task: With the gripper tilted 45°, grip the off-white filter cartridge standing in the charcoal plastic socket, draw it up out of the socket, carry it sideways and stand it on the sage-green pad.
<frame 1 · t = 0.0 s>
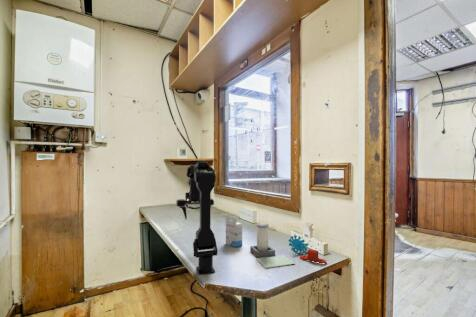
hand: (194, 219, 122), 15 cm above the table, tool pointing down, fingers open, 9 cm apart
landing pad: (275, 261, 104), on the table
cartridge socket: (262, 253, 114), on the table
filter cartridge: (262, 238, 114), in the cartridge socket
gear: (298, 252, 116), on the table
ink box: (233, 244, 127), on the table
bracket: (312, 261, 106), on the table
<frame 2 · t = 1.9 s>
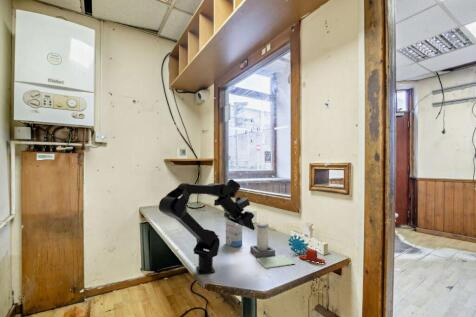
hand: (248, 227, 111), 13 cm above the table, tool tilted 45°, fingers open, 9 cm apart
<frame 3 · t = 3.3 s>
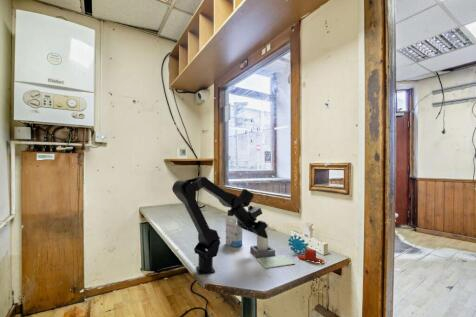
hand: (261, 235, 114), 9 cm above the table, tool tilted 45°, fingers open, 9 cm apart
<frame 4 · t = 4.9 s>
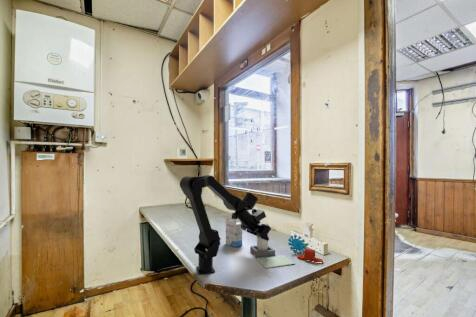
hand: (264, 238, 115), 7 cm above the table, tool tilted 45°, fingers closed on filter cartridge, 5 cm apart
filter cartridge: (262, 238, 114), in the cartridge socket, touching gripper
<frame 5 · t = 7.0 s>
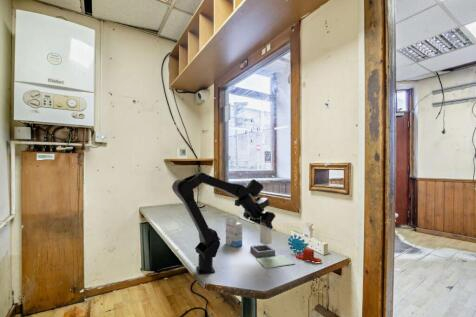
hand: (268, 226, 112), 13 cm above the table, tool tilted 45°, fingers closed on filter cartridge, 5 cm apart
filter cartridge: (266, 227, 111), point 13 cm above the table, touching gripper
when the fingers open (8 cm above the table, at t = 9.2 s): filter cartridge stays where it is, resting on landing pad.
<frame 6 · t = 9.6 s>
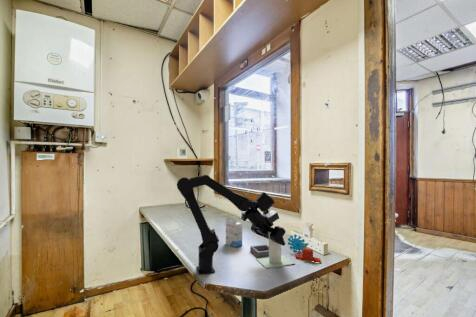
hand: (277, 241, 105), 9 cm above the table, tool tilted 45°, fingers open, 9 cm apart
filter cartridge: (275, 244, 104), on the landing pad
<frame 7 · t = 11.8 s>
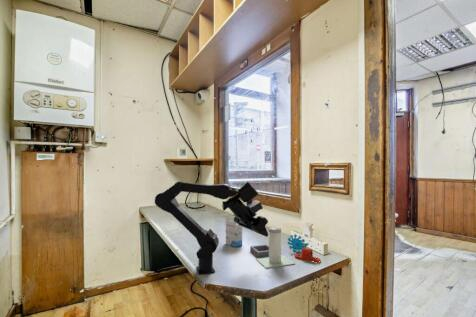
hand: (261, 233, 101), 14 cm above the table, tool tilted 45°, fingers open, 9 cm apart
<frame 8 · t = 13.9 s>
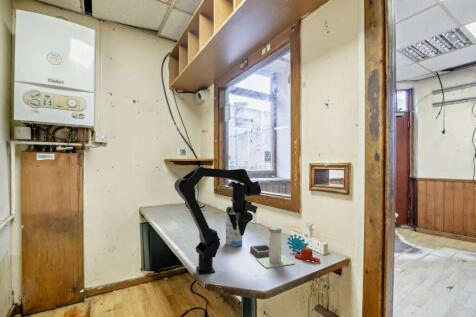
hand: (238, 232, 103), 13 cm above the table, tool pointing down, fingers open, 9 cm apart
at the end: filter cartridge 0.1 cm off-centre on the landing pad, point 7.4 cm above the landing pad's base; filter cartridge tilted 1°; the gripper is holding nothing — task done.
